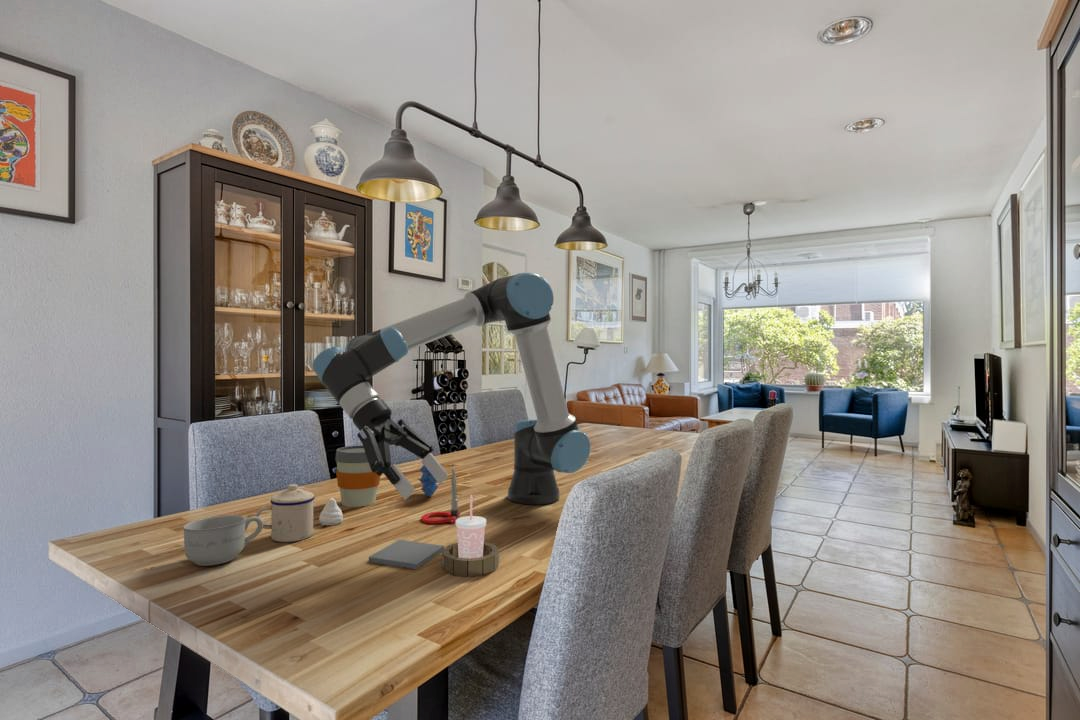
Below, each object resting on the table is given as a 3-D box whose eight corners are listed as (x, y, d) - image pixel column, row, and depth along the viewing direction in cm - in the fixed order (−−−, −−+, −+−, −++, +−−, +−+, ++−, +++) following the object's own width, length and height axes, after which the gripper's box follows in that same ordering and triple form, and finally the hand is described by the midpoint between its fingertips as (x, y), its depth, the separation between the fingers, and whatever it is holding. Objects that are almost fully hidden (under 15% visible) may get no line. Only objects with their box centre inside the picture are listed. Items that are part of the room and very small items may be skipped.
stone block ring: (473, 551, 117) (474, 537, 117) (509, 565, 109) (509, 550, 109) (431, 565, 109) (431, 550, 109) (466, 581, 101) (466, 565, 101)
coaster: (399, 544, 121) (399, 539, 120) (444, 550, 117) (444, 545, 117) (368, 561, 110) (368, 556, 110) (416, 569, 107) (416, 564, 107)
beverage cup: (448, 568, 107) (449, 496, 107) (465, 557, 113) (466, 489, 113) (475, 573, 105) (477, 500, 105) (491, 562, 111) (492, 493, 110)
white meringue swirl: (346, 499, 135) (323, 502, 131) (346, 523, 135) (323, 528, 131) (338, 494, 139) (316, 498, 135) (337, 518, 139) (315, 522, 135)
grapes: (449, 499, 158) (450, 457, 158) (426, 502, 155) (427, 459, 155) (437, 490, 168) (437, 451, 168) (415, 492, 165) (415, 452, 165)
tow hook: (417, 525, 135) (454, 525, 135) (415, 473, 135) (453, 472, 135) (426, 516, 144) (461, 515, 143) (424, 466, 144) (459, 465, 143)
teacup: (179, 575, 102) (180, 532, 102) (186, 555, 112) (186, 516, 112) (263, 563, 109) (263, 522, 109) (262, 545, 118) (263, 508, 118)
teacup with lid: (312, 528, 131) (313, 479, 131) (315, 539, 123) (316, 487, 122) (256, 534, 125) (256, 483, 125) (254, 547, 117) (255, 492, 117)
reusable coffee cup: (363, 494, 162) (364, 443, 162) (391, 501, 155) (392, 448, 154) (325, 503, 152) (325, 449, 152) (353, 511, 144) (353, 454, 144)
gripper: (389, 415, 129) (445, 485, 124) (314, 428, 105) (380, 515, 100) (409, 393, 127) (467, 463, 122) (337, 401, 103) (406, 488, 99)
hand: (428, 487), depth 111 cm, fingers open, 13 cm apart
